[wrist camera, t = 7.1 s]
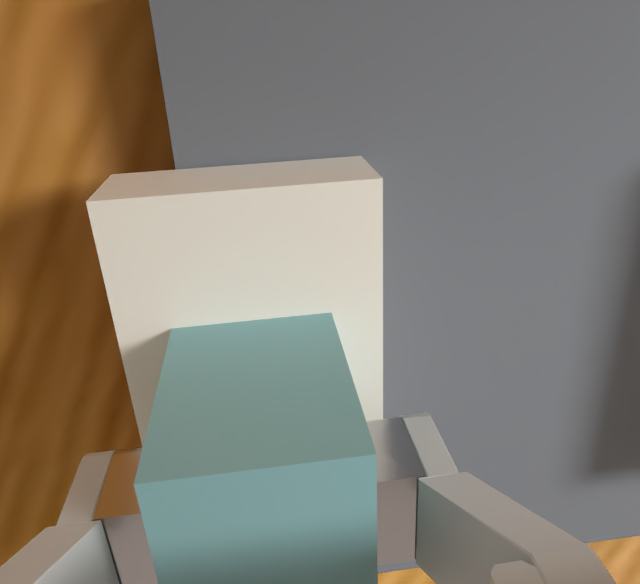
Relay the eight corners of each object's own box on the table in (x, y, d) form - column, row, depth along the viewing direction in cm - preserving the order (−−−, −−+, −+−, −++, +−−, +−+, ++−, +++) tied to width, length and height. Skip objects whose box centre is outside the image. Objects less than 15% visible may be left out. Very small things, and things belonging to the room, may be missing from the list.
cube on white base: (110, 174, 11) (-15, 308, 6) (360, 155, 12) (465, 263, 6) (181, 511, 15) (145, 785, 9) (366, 487, 15) (434, 735, 10)
